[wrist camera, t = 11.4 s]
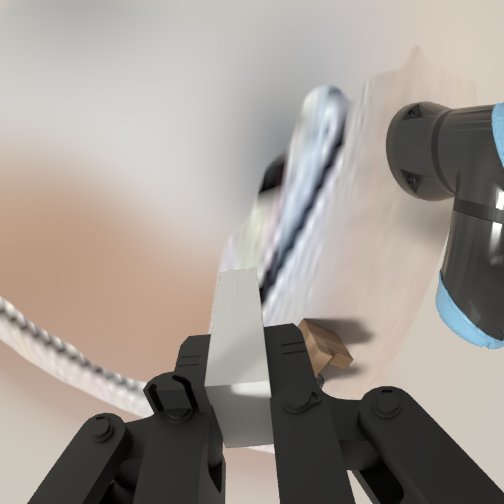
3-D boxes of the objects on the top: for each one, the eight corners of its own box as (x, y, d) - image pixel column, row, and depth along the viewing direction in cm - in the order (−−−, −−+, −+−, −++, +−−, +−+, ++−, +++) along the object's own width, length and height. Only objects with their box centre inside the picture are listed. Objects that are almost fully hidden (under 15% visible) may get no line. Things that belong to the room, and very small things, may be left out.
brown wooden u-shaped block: (303, 318, 46) (320, 351, 37) (337, 335, 47) (358, 367, 39) (242, 398, 49) (247, 436, 40) (276, 409, 51) (285, 446, 42)
